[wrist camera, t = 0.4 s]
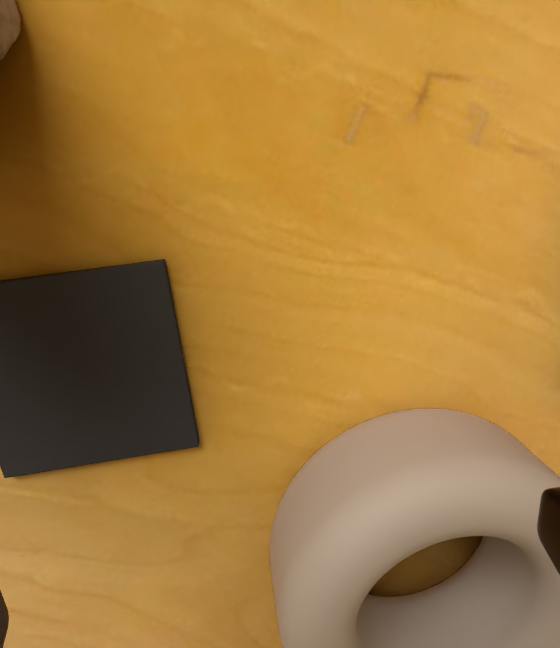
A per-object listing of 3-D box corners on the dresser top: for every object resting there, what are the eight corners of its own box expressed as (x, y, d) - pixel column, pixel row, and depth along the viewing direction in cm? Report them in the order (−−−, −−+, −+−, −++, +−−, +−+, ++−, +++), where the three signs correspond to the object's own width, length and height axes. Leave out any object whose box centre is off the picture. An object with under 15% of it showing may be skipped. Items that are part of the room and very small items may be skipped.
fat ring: (207, 538, 25) (203, 661, 19) (420, 339, 23) (497, 403, 17) (388, 664, 29) (434, 798, 23) (579, 507, 27) (687, 607, 21)
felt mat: (199, 441, 23) (199, 446, 23) (8, 472, 22) (4, 478, 22) (165, 258, 20) (164, 260, 20) (-55, 287, 20) (-62, 290, 19)
